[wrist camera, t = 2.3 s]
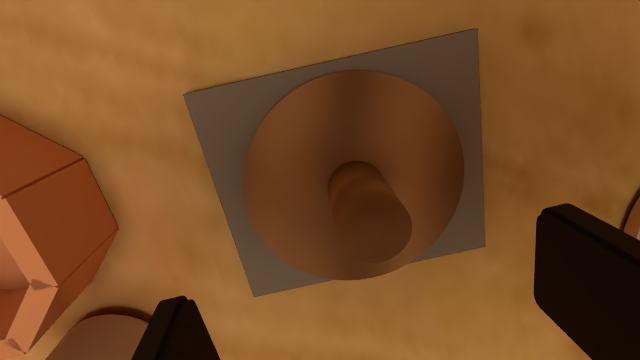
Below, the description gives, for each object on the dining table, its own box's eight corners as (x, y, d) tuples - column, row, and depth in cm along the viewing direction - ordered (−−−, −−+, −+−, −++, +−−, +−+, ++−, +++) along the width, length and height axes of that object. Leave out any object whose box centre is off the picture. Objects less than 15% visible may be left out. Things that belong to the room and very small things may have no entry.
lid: (446, 46, 16) (521, 43, 11) (459, 244, 20) (519, 313, 14) (217, 97, 16) (180, 119, 11) (276, 284, 20) (269, 367, 15)
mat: (471, 29, 16) (477, 28, 16) (480, 241, 20) (485, 246, 20) (186, 92, 16) (183, 94, 16) (255, 290, 21) (253, 297, 20)
